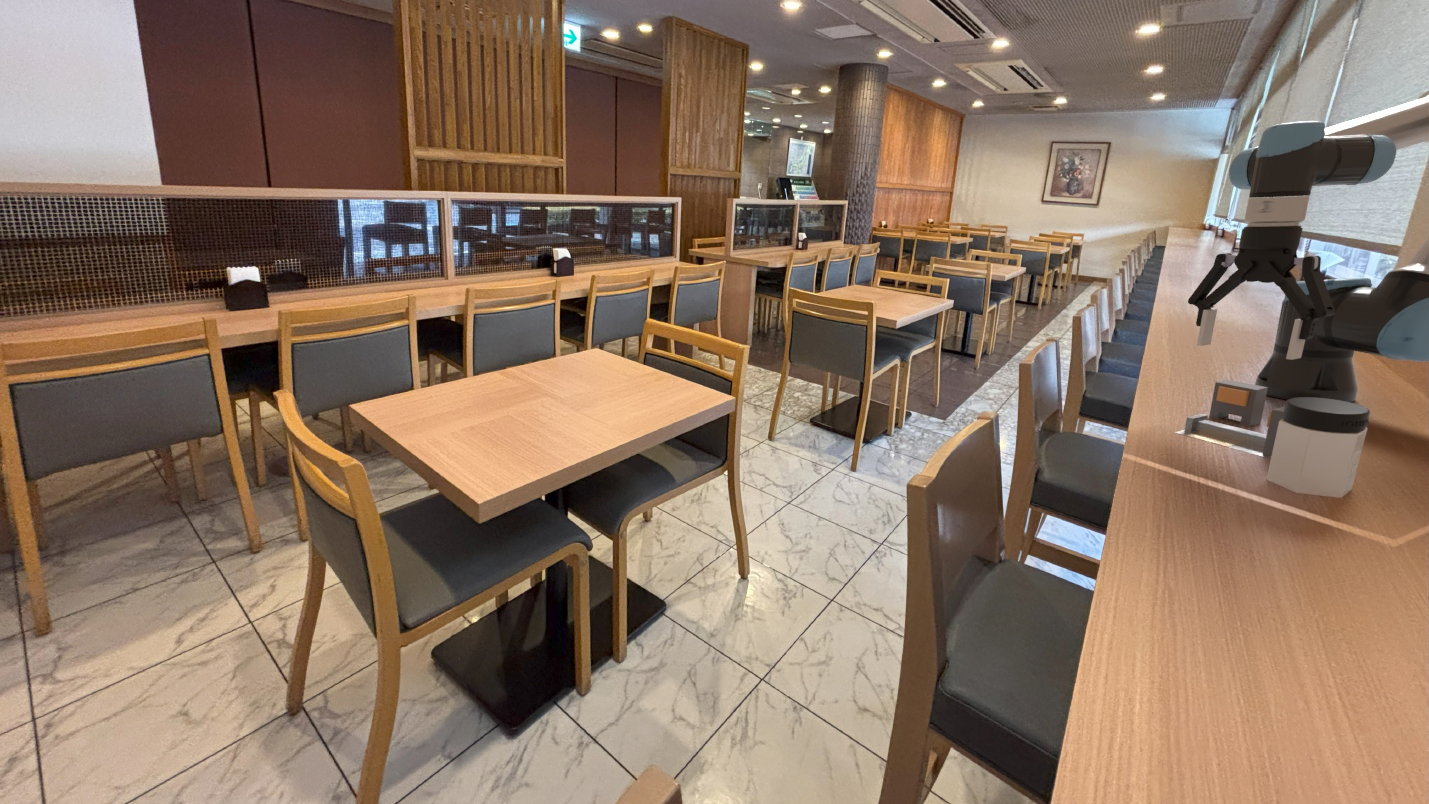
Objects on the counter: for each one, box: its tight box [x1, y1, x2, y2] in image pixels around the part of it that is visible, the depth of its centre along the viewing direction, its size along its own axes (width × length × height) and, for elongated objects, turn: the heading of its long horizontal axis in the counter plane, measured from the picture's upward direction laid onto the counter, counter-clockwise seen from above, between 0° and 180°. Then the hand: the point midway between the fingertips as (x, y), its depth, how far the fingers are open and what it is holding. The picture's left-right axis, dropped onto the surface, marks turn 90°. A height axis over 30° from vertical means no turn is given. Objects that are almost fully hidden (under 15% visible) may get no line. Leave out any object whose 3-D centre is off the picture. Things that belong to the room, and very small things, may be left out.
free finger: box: [1208, 379, 1268, 428], centre depth 111 cm, size 4×6×7 cm, turn 23°
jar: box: [1266, 397, 1371, 499], centre depth 84 cm, size 9×8×12 cm
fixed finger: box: [1263, 405, 1285, 456], centre depth 96 cm, size 4×6×7 cm, turn 113°
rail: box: [1173, 413, 1271, 460], centre depth 100 cm, size 9×20×3 cm, turn 23°
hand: (1246, 351), depth 108 cm, fingers open, 13 cm apart
